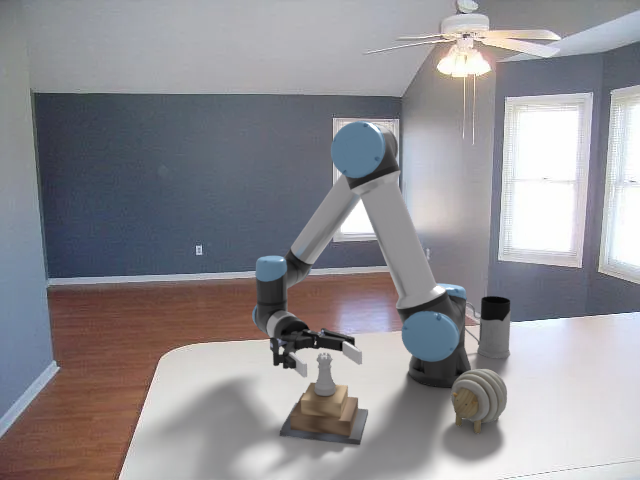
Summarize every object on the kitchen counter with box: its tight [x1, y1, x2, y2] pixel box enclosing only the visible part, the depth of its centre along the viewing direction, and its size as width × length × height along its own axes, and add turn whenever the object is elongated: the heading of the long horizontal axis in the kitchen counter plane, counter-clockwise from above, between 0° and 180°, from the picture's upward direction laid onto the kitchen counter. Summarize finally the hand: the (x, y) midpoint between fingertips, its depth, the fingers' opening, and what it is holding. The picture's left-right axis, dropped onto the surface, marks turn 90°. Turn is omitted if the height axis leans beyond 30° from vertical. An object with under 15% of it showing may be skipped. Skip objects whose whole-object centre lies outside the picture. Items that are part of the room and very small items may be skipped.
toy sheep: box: [450, 368, 508, 434], centre depth 105 cm, size 11×17×11 cm, turn 138°
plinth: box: [279, 382, 369, 445], centre depth 105 cm, size 16×12×7 cm
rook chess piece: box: [314, 352, 336, 397], centre depth 104 cm, size 4×4×8 cm
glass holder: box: [465, 295, 512, 359], centre depth 142 cm, size 9×14×15 cm, turn 71°
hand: (333, 364), depth 100 cm, fingers open, 11 cm apart
